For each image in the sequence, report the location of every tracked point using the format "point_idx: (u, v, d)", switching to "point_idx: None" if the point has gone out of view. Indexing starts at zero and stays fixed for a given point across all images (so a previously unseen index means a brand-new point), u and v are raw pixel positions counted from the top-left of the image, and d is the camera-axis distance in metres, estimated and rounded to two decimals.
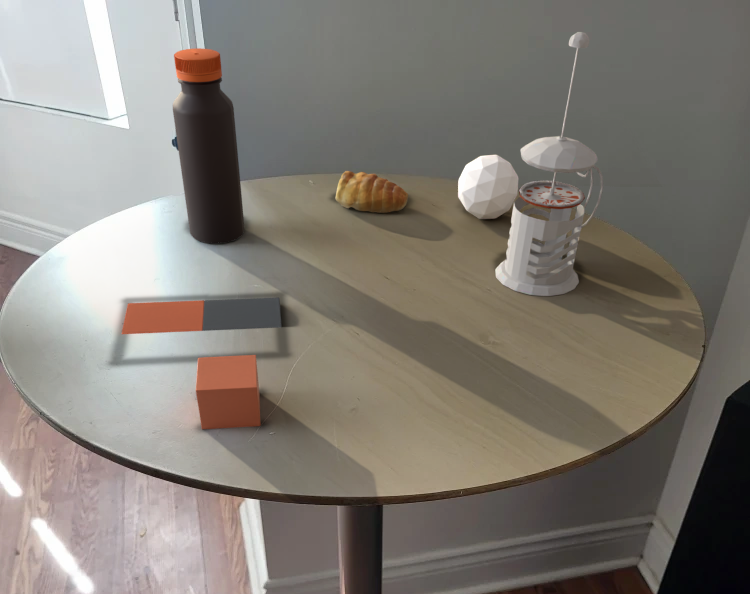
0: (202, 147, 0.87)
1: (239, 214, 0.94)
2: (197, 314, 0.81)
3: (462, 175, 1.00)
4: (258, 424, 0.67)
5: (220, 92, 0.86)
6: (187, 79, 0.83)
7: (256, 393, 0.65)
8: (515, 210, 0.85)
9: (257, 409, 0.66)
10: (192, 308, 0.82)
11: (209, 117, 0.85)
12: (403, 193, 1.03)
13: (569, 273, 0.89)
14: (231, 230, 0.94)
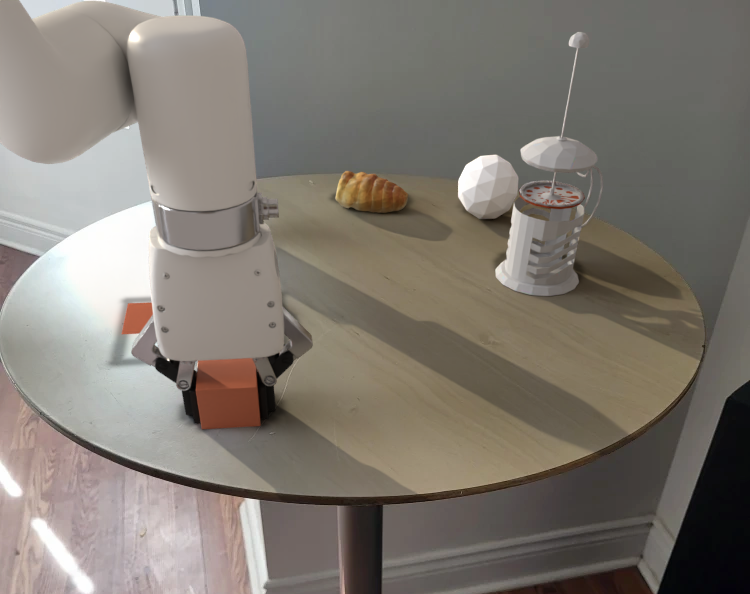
0: None
1: None
2: None
3: (462, 175, 1.00)
4: (258, 424, 0.67)
5: None
6: None
7: (256, 393, 0.65)
8: (515, 210, 0.85)
9: (257, 409, 0.66)
10: None
11: None
12: (403, 193, 1.03)
13: (569, 273, 0.89)
14: None
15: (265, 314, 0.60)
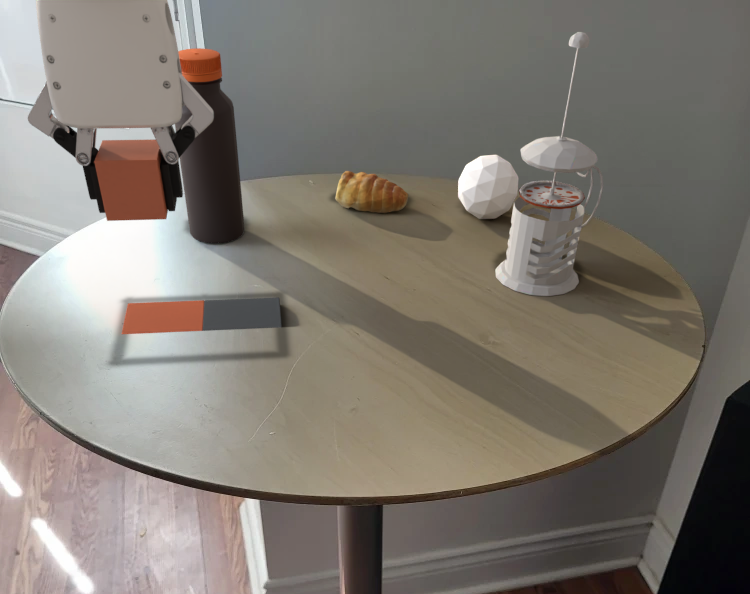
0: (202, 147, 0.87)
1: (239, 214, 0.94)
2: (197, 314, 0.81)
3: (462, 175, 1.00)
4: (162, 206, 0.66)
5: (220, 92, 0.86)
6: (187, 79, 0.83)
7: (157, 167, 0.64)
8: (515, 210, 0.85)
9: (159, 187, 0.65)
10: (192, 308, 0.82)
11: None
12: (403, 193, 1.03)
13: (569, 273, 0.89)
14: (231, 230, 0.94)
15: (158, 71, 0.60)
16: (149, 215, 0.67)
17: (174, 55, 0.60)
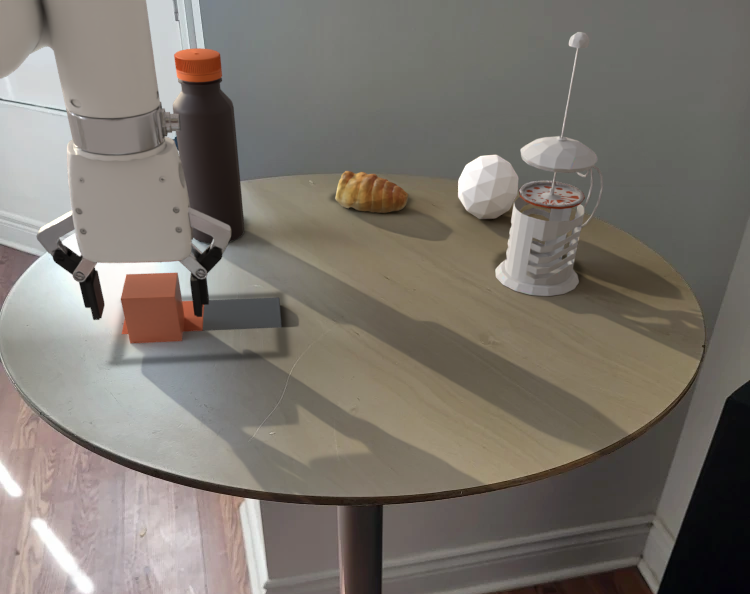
0: (202, 147, 0.87)
1: (239, 214, 0.94)
2: None
3: (462, 175, 1.00)
4: (178, 332, 0.76)
5: (220, 92, 0.86)
6: (187, 79, 0.83)
7: (174, 302, 0.74)
8: (515, 210, 0.85)
9: (176, 318, 0.75)
10: (192, 308, 0.82)
11: (209, 117, 0.85)
12: (403, 193, 1.03)
13: (569, 273, 0.89)
14: (231, 230, 0.94)
15: (171, 219, 0.69)
16: (167, 339, 0.76)
17: (185, 205, 0.69)
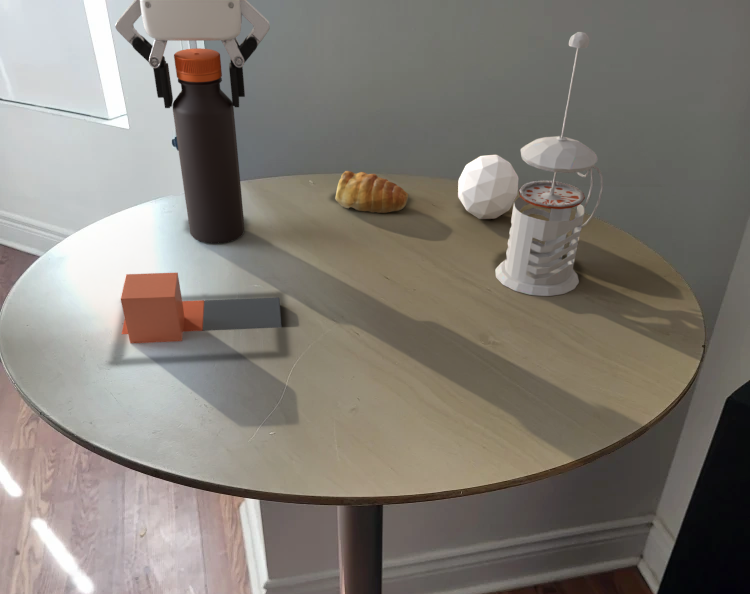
0: (202, 147, 0.87)
1: (239, 214, 0.94)
2: (197, 314, 0.81)
3: (462, 175, 1.00)
4: (178, 332, 0.76)
5: (220, 92, 0.86)
6: (187, 79, 0.83)
7: (174, 302, 0.74)
8: (515, 210, 0.85)
9: (176, 318, 0.75)
10: (192, 308, 0.82)
11: (209, 117, 0.85)
12: (403, 193, 1.03)
13: (569, 273, 0.89)
14: (231, 230, 0.94)
15: None
16: (167, 339, 0.76)
17: None
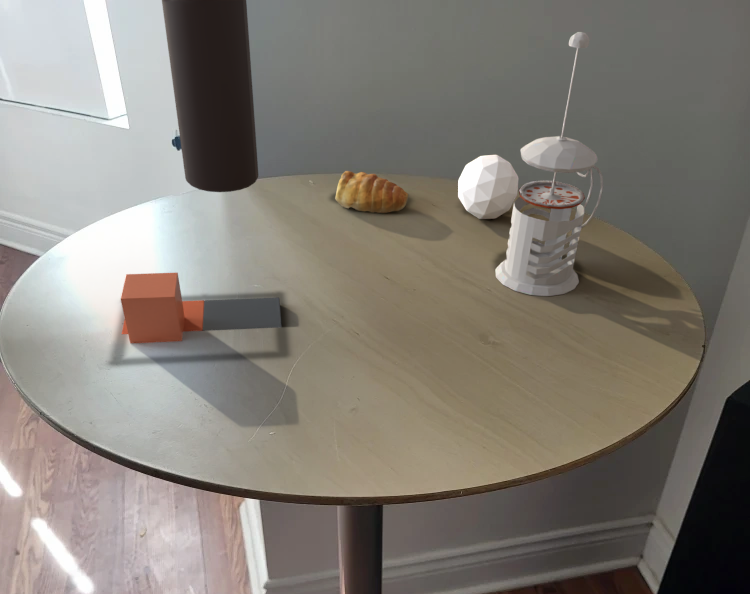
0: (202, 51, 0.62)
1: (252, 153, 0.70)
2: (197, 314, 0.81)
3: (462, 175, 1.00)
4: (178, 332, 0.76)
5: None
6: None
7: (174, 302, 0.74)
8: (515, 210, 0.85)
9: (176, 318, 0.75)
10: (192, 308, 0.82)
11: (212, 6, 0.60)
12: (403, 193, 1.03)
13: (569, 273, 0.89)
14: (241, 174, 0.70)
15: None
16: (167, 339, 0.76)
17: None
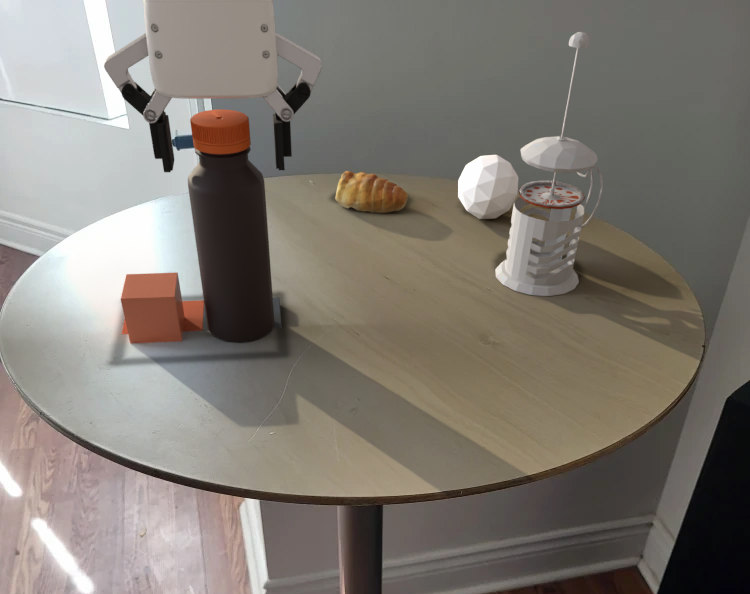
0: (225, 232, 0.69)
1: (269, 307, 0.76)
2: (197, 314, 0.81)
3: (462, 175, 1.00)
4: (178, 332, 0.76)
5: (248, 164, 0.68)
6: (207, 151, 0.65)
7: (174, 302, 0.74)
8: (515, 210, 0.85)
9: (176, 318, 0.75)
10: (192, 308, 0.82)
11: (234, 196, 0.67)
12: (403, 193, 1.03)
13: (569, 273, 0.89)
14: (259, 327, 0.76)
15: (259, 40, 0.60)
16: (167, 339, 0.76)
17: (274, 25, 0.61)
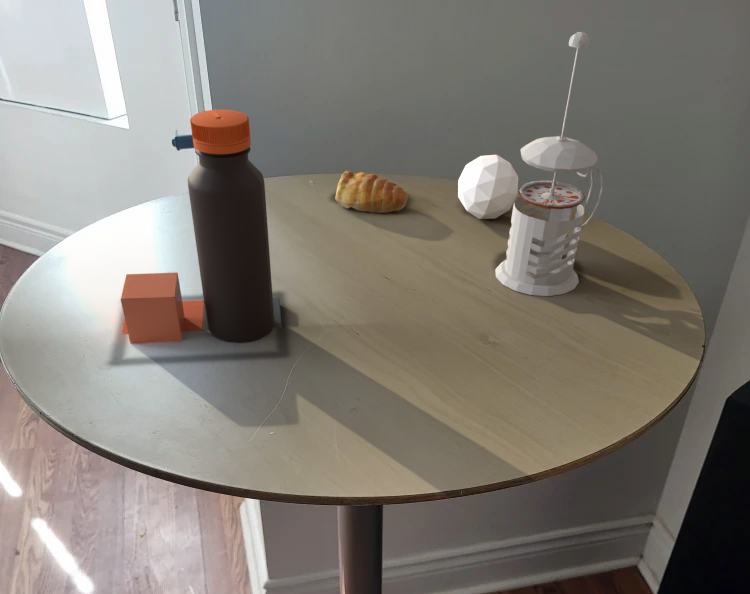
0: (225, 232, 0.69)
1: (269, 307, 0.76)
2: (197, 314, 0.81)
3: (462, 175, 1.00)
4: (178, 332, 0.76)
5: (248, 164, 0.68)
6: (207, 151, 0.65)
7: (174, 302, 0.74)
8: (515, 210, 0.85)
9: (176, 318, 0.75)
10: (192, 308, 0.82)
11: (234, 196, 0.67)
12: (403, 193, 1.03)
13: (569, 273, 0.89)
14: (259, 327, 0.76)
15: None
16: (167, 339, 0.76)
17: None
